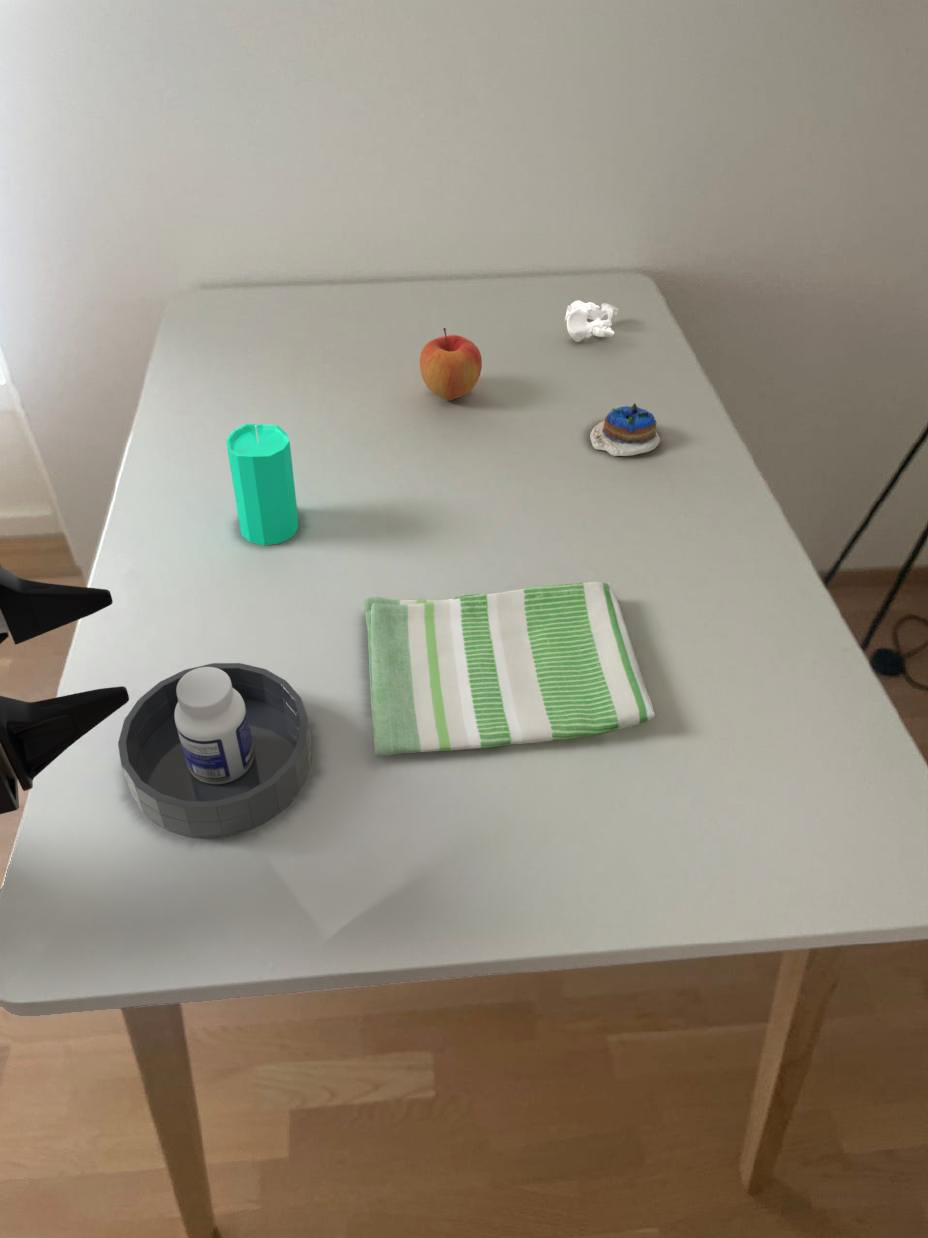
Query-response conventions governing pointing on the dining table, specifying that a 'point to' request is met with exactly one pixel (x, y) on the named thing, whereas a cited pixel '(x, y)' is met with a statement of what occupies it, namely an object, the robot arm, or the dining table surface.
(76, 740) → the robot arm
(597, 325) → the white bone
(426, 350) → the apple
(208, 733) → the pill bottle
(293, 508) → the candle
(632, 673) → the dish towel
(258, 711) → the pan
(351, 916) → the dining table surface
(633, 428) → the dessert
